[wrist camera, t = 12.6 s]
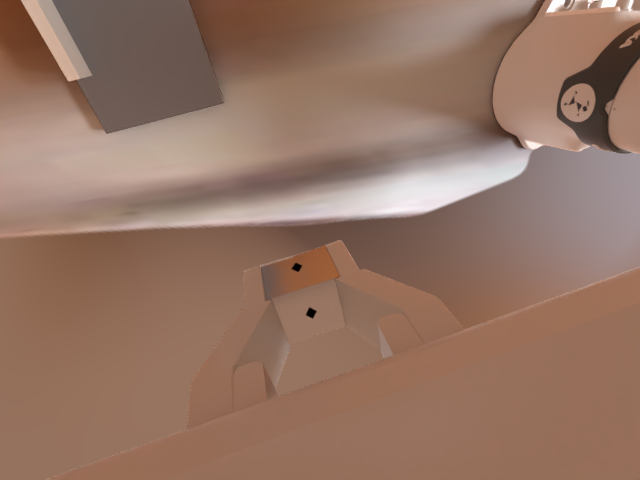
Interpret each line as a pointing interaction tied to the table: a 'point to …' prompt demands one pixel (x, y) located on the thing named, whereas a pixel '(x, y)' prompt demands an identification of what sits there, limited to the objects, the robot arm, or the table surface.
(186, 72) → the bench
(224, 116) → the table surface
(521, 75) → the robot arm
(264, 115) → the table surface
